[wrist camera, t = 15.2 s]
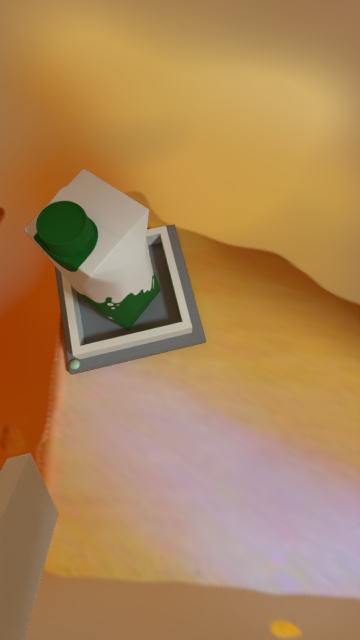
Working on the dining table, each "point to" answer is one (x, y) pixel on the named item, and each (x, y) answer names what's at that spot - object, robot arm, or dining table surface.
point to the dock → (150, 328)
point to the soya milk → (99, 246)
